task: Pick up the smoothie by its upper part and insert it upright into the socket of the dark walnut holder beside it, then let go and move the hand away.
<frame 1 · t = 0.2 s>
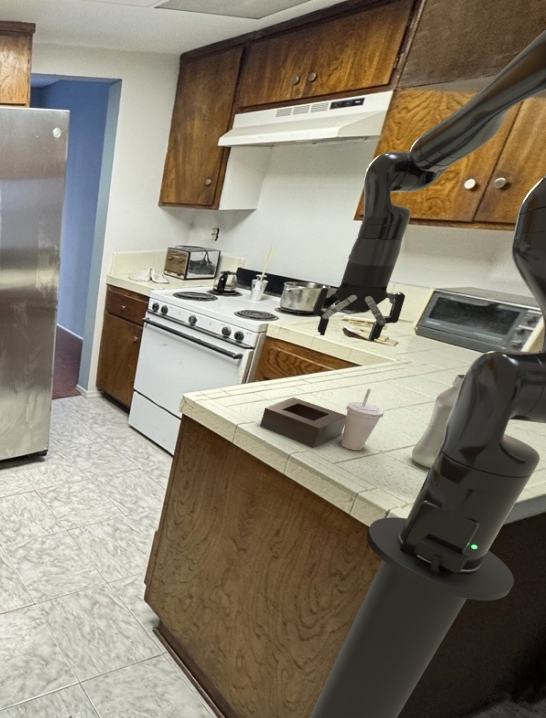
hand: (345, 337, 102), 24 cm above the counter, tool pointing down, fingers open, 8 cm apart
holder: (299, 430, 113), on the counter
smoothie: (351, 446, 106), on the counter
plastic bottle: (428, 465, 99), on the counter
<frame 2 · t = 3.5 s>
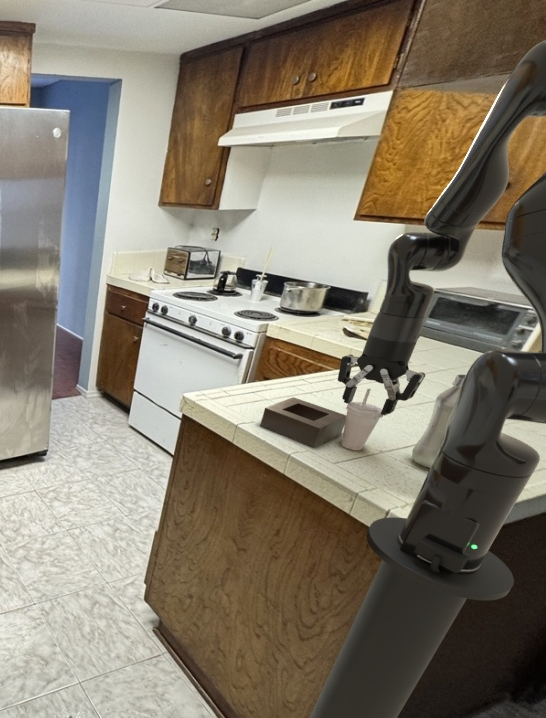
hand: (365, 407, 102), 10 cm above the counter, tool pointing down, fingers closed on smoothie, 6 cm apart
smoothie: (351, 446, 106), on the counter, touching gripper
everything else where it was.
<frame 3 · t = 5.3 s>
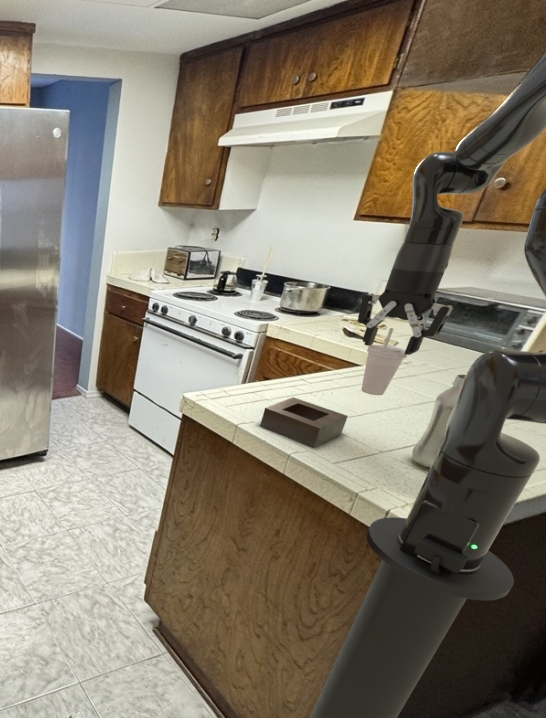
hand: (388, 349, 97), 23 cm above the counter, tool pointing down, fingers closed on smoothie, 6 cm apart
smoothie: (371, 392, 101), point 13 cm above the counter, touching gripper
everything else where it was.
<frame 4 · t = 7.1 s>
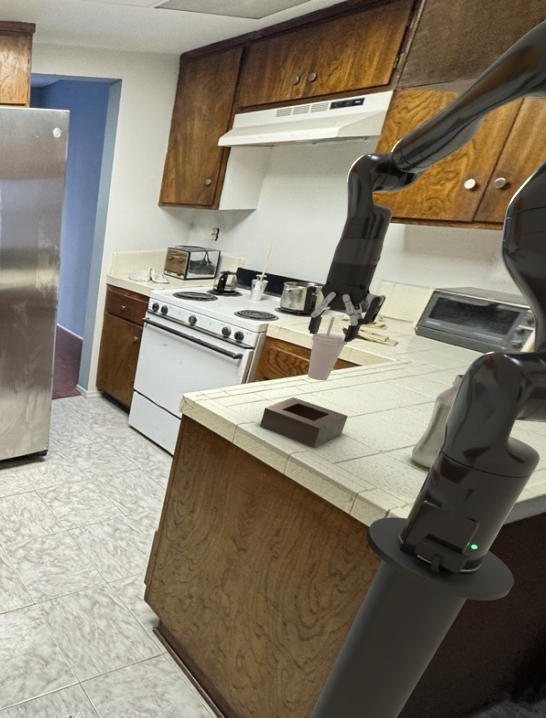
hand: (330, 337, 104), 24 cm above the counter, tool pointing down, fingers closed on smoothie, 6 cm apart
smoothie: (317, 378, 108), point 14 cm above the counter, touching gripper
everything else where it was.
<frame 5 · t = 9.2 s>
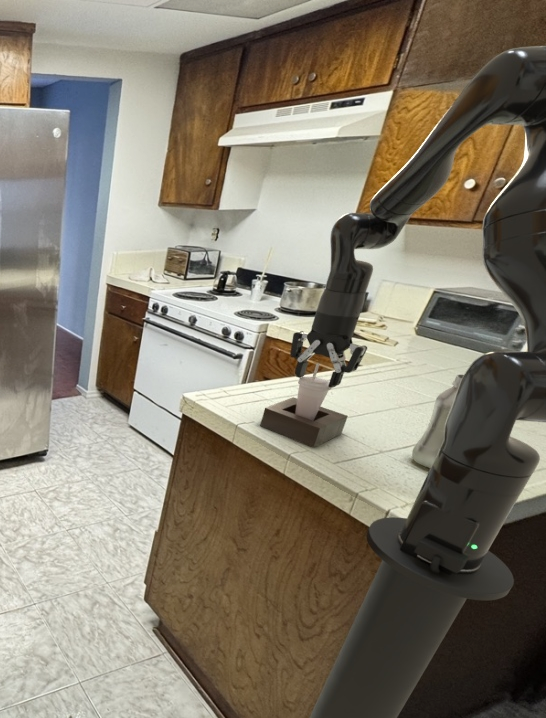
hand: (315, 381, 108), 13 cm above the counter, tool pointing down, fingers closed on smoothie, 6 cm apart
smoothie: (303, 419, 112), point 3 cm above the counter, touching gripper
everything else where it was.
when the fingers open (10 cm above the counter, at t = 10.9 s): smoothie stays where it is, resting in holder.
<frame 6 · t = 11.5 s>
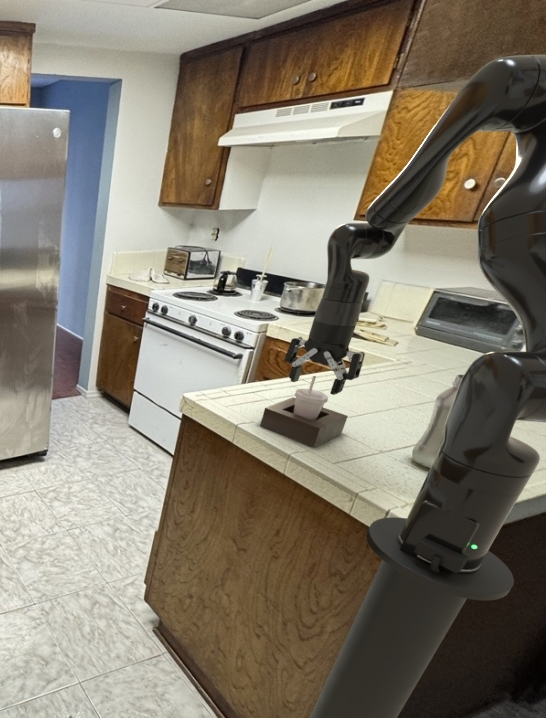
hand: (313, 387, 109), 11 cm above the counter, tool pointing down, fingers open, 8 cm apart
smoothie: (300, 430, 113), resting in holder
everything else where it was.
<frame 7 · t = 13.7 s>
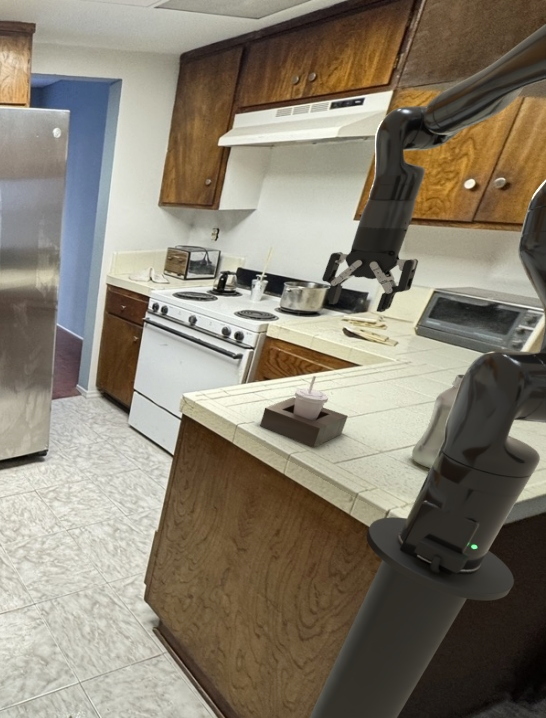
hand: (356, 307, 97), 31 cm above the counter, tool pointing down, fingers open, 8 cm apart
nothing on the counter moved.
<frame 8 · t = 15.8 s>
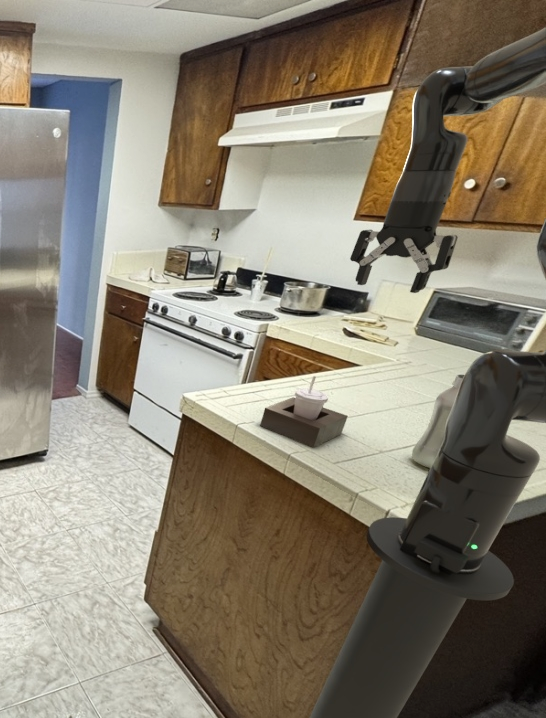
hand: (387, 288, 91), 36 cm above the counter, tool pointing down, fingers open, 8 cm apart
nothing on the counter moved.
at the end: smoothie 0.1 cm off-centre in the holder, point 0.0 cm above the holder's base; smoothie tilted 0°; the gripper is holding nothing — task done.
